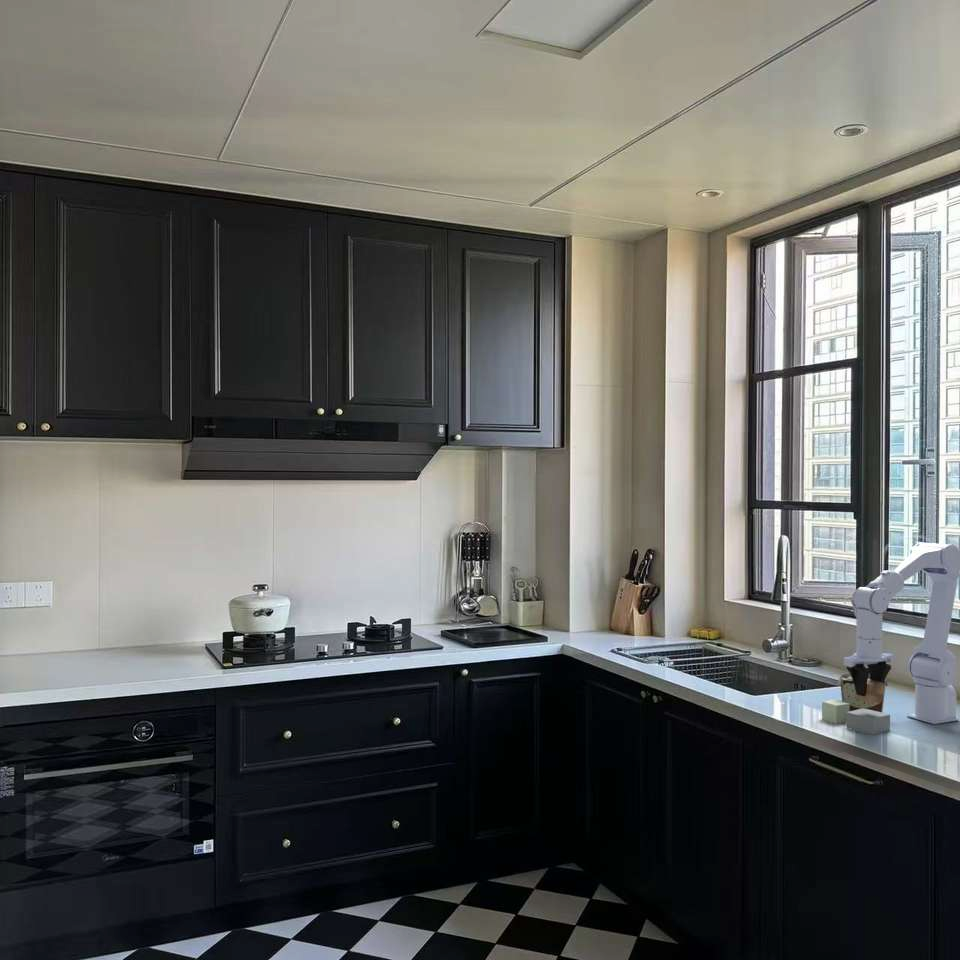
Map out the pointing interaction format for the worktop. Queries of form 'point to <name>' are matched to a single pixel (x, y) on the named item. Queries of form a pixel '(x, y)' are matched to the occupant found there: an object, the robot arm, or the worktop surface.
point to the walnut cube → (872, 692)
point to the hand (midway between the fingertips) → (868, 694)
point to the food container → (849, 694)
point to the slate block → (868, 721)
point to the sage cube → (835, 711)
